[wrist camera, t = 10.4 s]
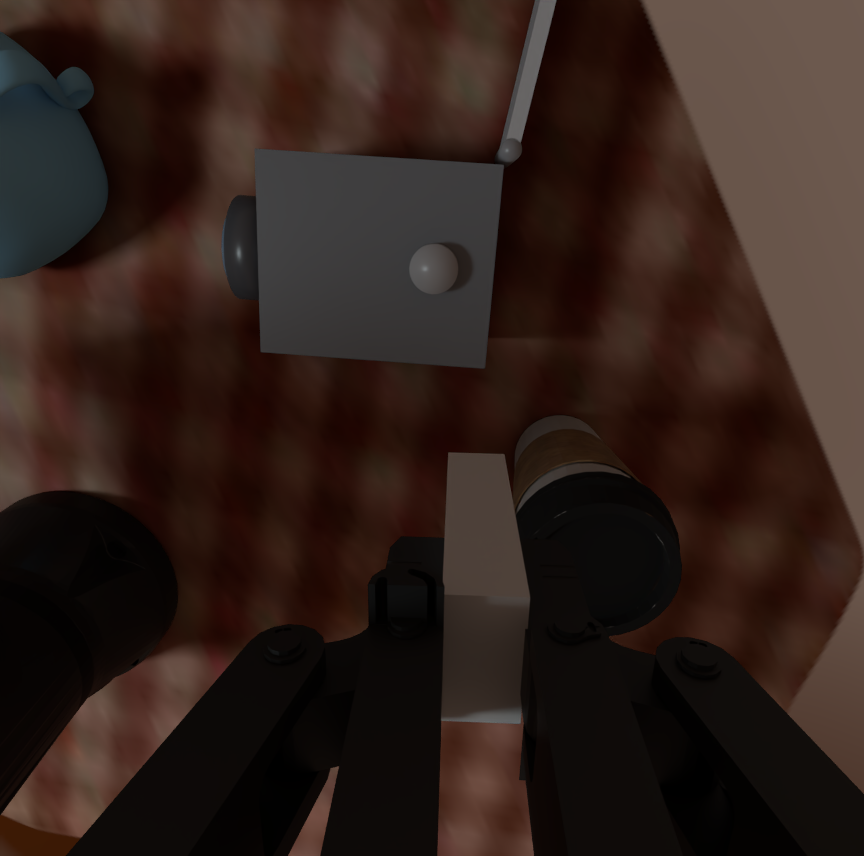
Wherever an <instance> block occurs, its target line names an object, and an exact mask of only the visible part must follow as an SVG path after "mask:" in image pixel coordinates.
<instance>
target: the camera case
mask: <svg viewBox="0 0 864 856" xmlns="http://www.w3.org/2000/svg"><path fill="white" fill-rule="evenodd" d="M503 169H504V165H499V164H484V163H468V162H453V161H437V160H422V159H406V158H391V157H375V156H360V155H344V154H329V153H313V152H298V151H282V150H267V149H255V177H256V196H246V195H238V196H236V197H235V198H234V199H233V200H232V202H231V204H230V206H229V209H228V212H227V216H226V219H225V222H224V226H223V232H222V258H223V265H224V269H225V272H226V275H227V278H228V281H229V285H230V287H231V289H232V291H233V293H234V295H235V296H236V297H237V298H239V299H248V300H259V314H260V348H261V352H266V353H279V354H293V355H306V356H320V357H333V358H347V359H361V360H374V361H388V362H401V363H415V364H429V365H442V366H456V367H469V368H483V369H485V363H486V352H487V341H488V331H489V320H490V309H491V298H492V288H493V277H494V266H495V255H496V245H497V234H498V223H499V212H500V202H501V191H502V180H503Z"/></svg>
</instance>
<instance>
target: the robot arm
mask: <svg viewBox="0 0 864 856" xmlns="http://www.w3.org/2000/svg"><path fill="white" fill-rule="evenodd" d="M177 597H178V593H177V583H176V578H175V574H174V571H173V568H172V566H171V563H170V561H169V559H168V557H167V555H166V553H165V551H164V550H163V548H162V547H161V545H160V544H159V543H158V541H157V540H156V539H155V537H154V536H153V535H152V534H151V533H150V532H149V531H148V530H147V529H146V528H145V527H144V526H143V525H142V524H141V523H140V522H138V521H137V520H136V519H135V518H133V517H132V516H131V515H129V514H128V513H126V512H125V511H123V510H121V509H120V508H118V507H116V506H114V505H112V504H110V503H108V502H106V501H103V500H100V499H98V498H94V497H91V496H88V495H84V494H78V493H71V492H46V493H40V494H36V495H32V496H29V497H26V498H23V499H21V500H19V501H17V502H15V503H14V504H12V505H11V506H9V507H8V508H6V509H5V510H3V511H2V512H0V815H1V814H2V812H3V811H4V810H5V808H6V807H7V806H8V804H9V803H10V801H11V800H12V799H13V797H14V796H15V795H16V793H17V792H18V791H19V789H20V788H21V787H22V785H23V784H24V783H25V781H26V780H27V778H28V777H29V776H30V774H31V773H32V772H33V770H34V769H35V768H36V766H37V765H38V764H39V762H40V761H41V760H42V758H43V757H44V756H45V754H46V753H47V751H48V750H49V749H50V747H51V746H52V745H53V743H54V742H55V741H56V739H57V738H58V737H59V735H60V734H61V733H62V731H63V730H64V729H65V727H66V726H67V724H68V723H69V722H70V720H71V719H72V718H73V716H74V715H75V714H76V712H77V711H78V710H79V708H80V707H81V706H82V705H83V703H84V702H85V701H86V699H87V698H89V697H90V696H92V695H93V694H95V693H96V692H98V691H99V690H100V689H102V688H103V687H104V686H106V685H107V684H108V683H109V682H110V681H111V680H112V679H113V678H115V677H117V676H119V675H121V674H124V673H126V672H127V671H129V670H131V669H132V668H134V667H135V666H137V665H138V664H140V663H141V662H142V661H143V660H144V659H145V658H146V657H147V656H148V655H149V654H150V653H151V652H152V651H153V650H154V649H155V647H156V646H157V644H158V643H159V642H160V640H161V639H162V637H163V636H164V634H165V633H166V632H167V630H168V629H169V627H170V625H171V623H172V621H173V618H174V615H175V612H176V607H177ZM368 608H369V626H368V628H367V629H366V630H364V631H363V632H362V633H360V634H358V635H355V636H353V637H351V638H347V639H344V640H340V641H335V642H329V643H324V640H323V637H322V636H321V635H320V634H319V633H318V632H317V631H316V630H314V629H312V628H309V627H306V626H304V625H291V624H288V625H282V626H277V627H273V628H270V629H268V630H266V631H263V632H261V633H259V634H258V635H257V636H256V637H255V638H253V639H252V640H251V641H250V642H249V643H248V644H247V645H246V646H245V648H244V649H243V650H242V651H241V652H240V653H239V655H238V656H237V657H236V658H235V659H234V660H233V662H232V663H231V664H230V665H229V666H228V667H227V669H226V670H225V671H224V672H223V673H222V674H221V676H220V677H219V678H218V679H217V680H216V681H215V683H214V684H213V685H212V686H211V687H210V688H209V690H208V691H207V692H206V693H205V694H204V695H203V696H202V698H201V699H200V700H199V701H198V702H197V703H196V705H195V706H194V707H193V708H192V709H191V710H190V712H189V713H188V714H187V715H186V716H185V717H184V719H183V720H182V721H181V722H180V723H179V724H178V726H177V727H176V728H175V729H174V730H173V731H172V733H171V734H170V735H169V736H168V737H167V738H166V740H165V741H164V742H163V743H162V744H161V745H160V747H159V748H158V749H157V750H156V751H155V752H154V754H153V755H152V756H151V757H150V758H149V759H148V761H147V762H146V763H145V764H144V765H143V766H142V768H141V769H140V770H139V771H138V772H137V773H136V775H135V776H134V777H133V778H132V779H131V780H130V782H129V783H128V784H127V785H126V786H125V787H124V789H123V790H122V791H121V792H120V793H119V794H118V796H117V797H116V798H115V799H114V800H113V801H112V803H111V804H110V805H109V806H108V807H107V808H106V810H105V811H104V812H103V813H102V814H101V815H100V817H99V818H98V819H97V820H96V821H95V822H94V824H93V825H92V826H91V827H90V828H89V829H88V831H87V832H86V833H85V834H84V835H83V836H82V837H81V839H80V840H79V841H78V842H77V843H76V844H75V846H74V847H73V848H72V849H71V850H70V851H69V853H68V854H67V855H66V856H288V854H289V853H290V851H291V849H292V847H293V845H294V843H295V841H296V839H297V837H298V835H299V833H300V831H301V829H302V827H303V825H304V824H305V822H306V820H307V818H308V816H309V814H310V812H311V810H312V808H313V806H314V804H315V802H316V800H317V798H318V796H319V795H320V793H321V791H322V789H323V787H324V785H325V783H326V781H327V779H328V776H329V772H330V768H333V767H337V766H339V769H338V774H337V779H336V784H335V789H334V793H333V798H332V803H331V808H330V812H329V817H328V822H327V827H326V832H325V836H324V841H323V846H322V851H321V855H320V856H437V846H438V814H439V781H440V748H441V721H463V722H487V723H510V724H520V722H521V709H522V713H523V721H524V727H523V740H522V752H521V765H520V777H519V780H526V788H527V797H528V806H529V815H530V823H531V832H532V841H533V850H534V856H864V794H863V793H862V792H861V791H860V790H859V789H858V787H857V786H856V785H855V784H854V783H853V782H852V781H851V780H850V779H849V778H848V777H847V776H846V775H845V774H844V773H843V772H842V771H841V770H840V769H839V768H838V767H837V766H836V764H835V763H834V762H833V761H832V760H831V759H830V758H829V757H828V756H827V755H826V754H825V753H824V752H823V751H822V750H821V749H820V748H819V747H818V746H817V744H815V742H814V741H813V740H812V739H811V738H810V737H809V736H808V735H807V734H806V733H805V732H804V731H803V730H802V729H801V728H800V727H799V726H798V725H797V724H796V723H795V722H794V720H793V719H792V718H791V717H790V716H789V715H788V714H787V713H786V712H785V711H784V710H783V709H782V708H781V707H780V706H779V705H778V704H777V703H776V702H775V700H774V699H773V698H772V697H771V696H770V695H769V694H768V693H767V692H766V691H765V690H764V689H763V688H762V687H761V686H760V685H759V684H758V683H757V682H756V681H755V680H754V678H753V677H752V676H751V675H750V674H749V673H748V672H747V671H746V670H745V669H744V668H743V667H742V666H741V665H740V664H739V663H738V662H737V661H736V660H735V659H734V658H733V657H732V656H731V655H729V654H728V653H727V652H726V651H724V650H723V649H722V648H720V647H718V646H715V645H713V644H711V643H709V642H707V641H703V640H699V639H695V638H689V637H675V638H672V639H669V640H665V641H663V642H662V643H661V644H660V645H659V646H658V647H657V650H656V655H652V654H648V653H644V652H640V651H636V650H632V649H629V648H626V647H623V646H621V645H619V644H617V643H615V642H613V641H611V640H610V639H609V636H608V633H607V632H606V630H605V628H604V627H603V625H602V624H601V623H600V622H598V621H597V620H596V619H594V618H593V617H592V616H591V615H590V612H589V609H588V606H587V603H586V600H585V596H584V593H583V590H582V587H581V584H580V581H579V580H578V574H577V571H576V568H575V565H574V562H573V559H572V556H571V552H570V551H569V550H568V549H566V548H565V547H564V546H563V545H562V544H561V543H560V542H559V541H558V540H543V539H520V538H519V533H518V527H517V521H516V516H515V510H514V505H513V499H512V494H511V488H510V483H509V477H508V472H507V466H506V460H505V455H504V454H484V453H450V452H448V470H447V493H446V517H445V538H434V537H404V536H401V537H400V538H399V539H398V540H397V541H396V542H395V543H394V544H393V545H392V546H391V547H390V550H389V555H388V560H387V565H386V569H383V570H381V571H380V572H378V573H377V574H375V575H374V576H373V577H372V578H371V580H370V582H369V583H368Z"/></svg>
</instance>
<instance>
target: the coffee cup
mask: <svg viewBox="0 0 864 856" xmlns="http://www.w3.org/2000/svg"><path fill="white" fill-rule="evenodd" d="M512 499H513V505H514V510H515V516H516V521H517V527H518V533H519V538H520V539H543V540H558V541H559V542H560V543H561V544H562V545H563V546H564V547H565V548H566V549H568V550H569V551H570V552H571V556H572V559H573V562H574V565H575V568H576V571H577V574H578V580H579V581H580V584H581V587H582V590H583V593H584V596H585V600H586V603H587V606H588V609H589V612H590V615H591V616H592V617H593V618H594V619H596V620H597V621H598V622H600V623H601V624H602V625H603V627H604V628H605V630H606V632H607V633H608V636H613V635H620V634H623V633H627V632H630V631H633V630H636V629H638V628H640V627H642V626H644V625H646V624H648V623H649V622H651V621H652V620H653V619H655V618H656V617H658V616H659V615H660V614H661V613H662V612H663V611H664V610H665V609H666V608H667V607H668V605H669V604H670V603H671V601H672V599H673V598H674V596H675V594H676V593H677V590H678V587H679V583H680V580H681V571H682V564H681V557H680V545H679V538H678V532H677V530H676V527H675V525H674V522H673V520H672V518H671V515H670V513H669V511H668V509H667V508H666V506H665V505H664V503H663V502H662V500H661V499H660V498H659V497H658V496H657V495H656V494H655V493H654V492H653V491H652V490H651V489H649V488H648V487H646V486H645V485H643V484H642V483H641V482H640V480H639V479H638V478H637V477H636V476H635V475H634V474H633V473H632V472H631V471H630V470H629V469H628V468H627V466H626V465H625V464H624V463H623V462H622V461H621V460H620V459H619V458H618V457H617V456H616V455H615V454H614V452H613V451H612V450H611V449H610V448H609V447H608V446H607V445H606V444H605V443H604V442H603V441H602V440H601V439H600V437H599V436H598V435H597V434H596V432H595V431H594V430H593V429H592V428H591V427H590V426H589V425H588V424H586V423H585V422H583V421H581V420H580V419H577V418H574V417H571V416H565V415H554V416H549V417H545V418H543V419H540V420H538V421H537V422H535V423H533V424H532V425H531V426H529V427H528V428H527V429H526V430H525V431H524V433H523V434H522V435H521V437H520V439H519V441H518V443H517V446H516V450H515V471H514V482H513V498H512Z"/></svg>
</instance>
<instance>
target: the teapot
mask: <svg viewBox="0 0 864 856" xmlns="http://www.w3.org/2000/svg"><path fill="white" fill-rule="evenodd" d="M93 94H94V87H93V83H92V81H91V79H90V78H89V76H88V75H87V74H86V73H85V72H84V71H83V70H81V69H80V68H78V67H70V68H68V69H66V70H65V71H63V72H62V73H61V74H60V75H59V76H58V78H57V80H55V78H54V77H53V76H52V75H51V74H50V72H49V71H48V70H47V69H46V68H45V67H44V66H43V65H42V64H41V63H40V62H39V61H38V60H37V59H35V58H34V57H33V56H32V55H31V54H30V53H28V52H27V51H26V50H25V49H24V48H23V47H22V46H20V45H19V44H18V43H16V42H15V41H14V40H12V39H11V38H9V37H8V36H7V35H5V34H4V33H2V32H0V278H8V277H15V276H21V275H24V274H27V273H29V272H32V271H34V270H36V269H38V268H40V267H42V266H44V265H46V264H48V263H50V262H52V261H53V260H55V259H56V258H58V257H59V256H61V255H63V254H64V253H66V252H67V251H68V250H69V249H71V248H72V247H73V246H74V245H76V244H77V243H78V242H79V241H80V240H81V239H82V238H83V237H84V236H85V235H86V234H87V233H89V232H90V230H91V229H92V228H93V227H94V226H95V225H96V223H97V222H98V221H99V220H100V218H101V216H102V214H103V213H104V211H105V208H106V204H107V200H108V180H107V175H106V172H105V168H104V165H103V162H102V159H101V157H100V154H99V152H98V149H97V146H96V144H95V142H94V140H93V138H92V135H91V133H90V131H89V129H88V127H87V125H86V123H85V122H84V120H83V118H82V116H81V114H80V113H79V111H78V109H80V108H82V107H83V106H85V105H86V104H87V103H88V102H89V101H90V100H91V98H92V96H93Z"/></svg>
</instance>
